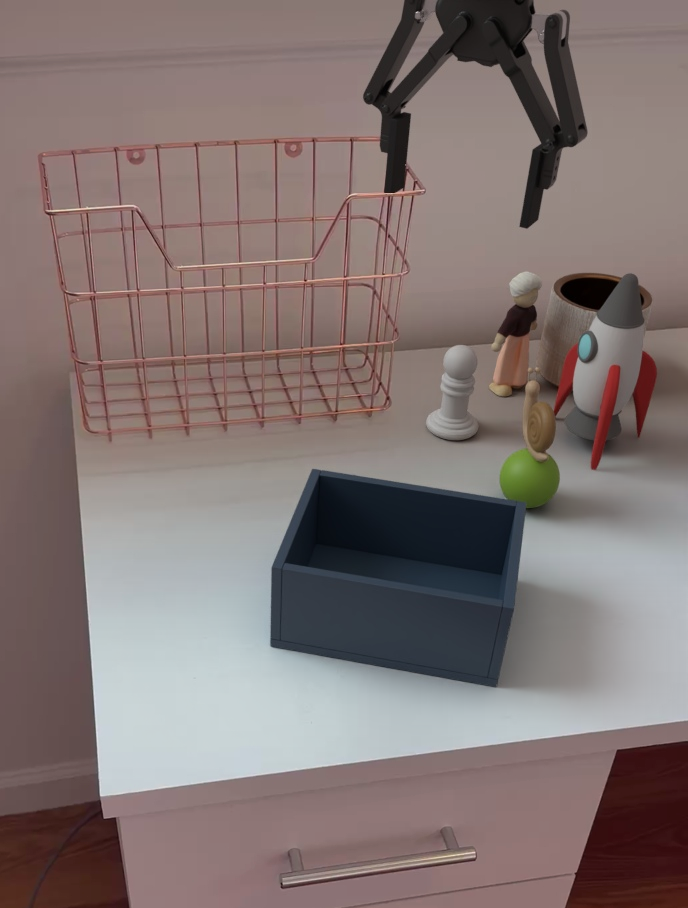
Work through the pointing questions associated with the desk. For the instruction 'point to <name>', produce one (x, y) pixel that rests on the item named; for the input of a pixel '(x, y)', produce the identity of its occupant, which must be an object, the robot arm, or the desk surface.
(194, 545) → the desk surface
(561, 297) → the planter
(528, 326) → the grandmother figurine
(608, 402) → the toy
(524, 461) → the snail figurine
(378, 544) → the tote
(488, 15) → the robot arm
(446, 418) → the chess piece
